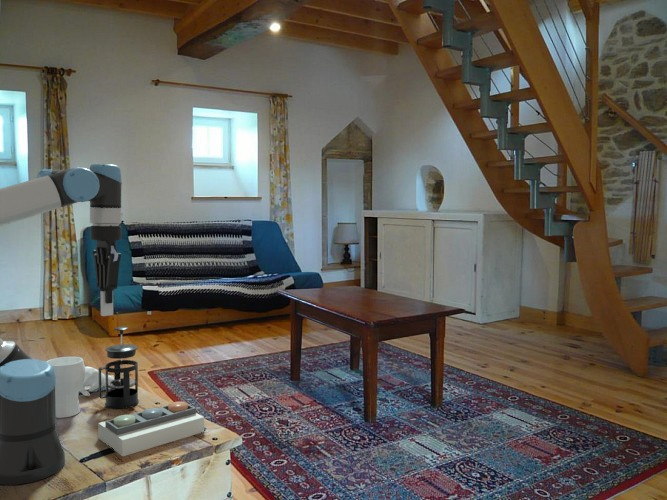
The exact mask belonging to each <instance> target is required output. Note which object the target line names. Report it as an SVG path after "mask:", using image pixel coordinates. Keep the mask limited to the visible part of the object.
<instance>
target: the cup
mask: <svg viewBox="0 0 667 500" xmlns="http://www.w3.org/2000/svg"><path fill="white" fill-rule="evenodd" d="M46 362H48V363H50V364H51V365H52V366H53V368H54V372H55V376H56V384H55V409H56V418H57V419H58V418H59V419H61V418H68V417H73V416H76V415H78V414H79V413H80V412H81V405H80V401H79V394H80V391H79V390H80V388H81V386H82V384H83V381H84V378H85V367H86V365H85V361H84V359H83V357H81V356H62V357H61V356H60V357H55V358H51V359H48V360H46Z"/></svg>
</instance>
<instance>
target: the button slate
mask: <svg viewBox="0 0 667 500" xmlns="http://www.w3.org/2000/svg"><path fill="white" fill-rule="evenodd" d="M141 412H142V418H144V419H146V420H150V419H154V418H158V417H161V416H162V409H160V408H159V407H150V408H146V409H143V410H142V411H141Z"/></svg>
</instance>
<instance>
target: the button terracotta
mask: <svg viewBox="0 0 667 500" xmlns="http://www.w3.org/2000/svg"><path fill="white" fill-rule="evenodd" d="M188 404H189V403H187V402H186V401H183V402H182V401H173V402H170V403H169V404H168V411H170V412H172V413H176V412H180V411H184V410H188Z"/></svg>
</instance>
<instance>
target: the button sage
mask: <svg viewBox="0 0 667 500" xmlns="http://www.w3.org/2000/svg"><path fill="white" fill-rule="evenodd" d="M113 419H114V425H115V426H116V427H118V428H120V427H124V426H127V425H131V424H135V416H133V415H131V414H123V415H118V416H116V417H114V418H113Z"/></svg>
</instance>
